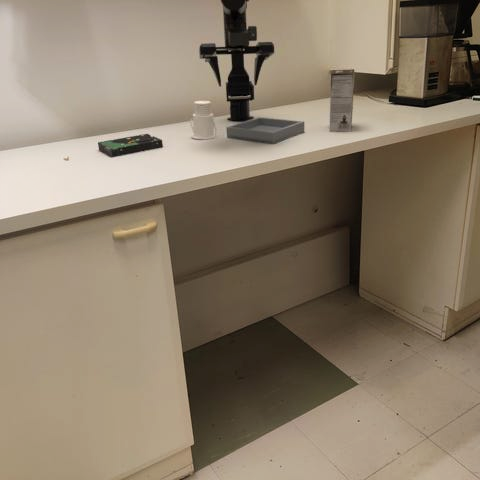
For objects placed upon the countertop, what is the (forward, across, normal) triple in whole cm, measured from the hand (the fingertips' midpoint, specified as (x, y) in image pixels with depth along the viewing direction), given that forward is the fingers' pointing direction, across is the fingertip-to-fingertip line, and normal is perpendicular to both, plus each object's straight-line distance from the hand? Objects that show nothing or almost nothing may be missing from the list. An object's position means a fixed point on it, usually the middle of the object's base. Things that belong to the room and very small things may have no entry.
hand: (237, 85), depth 124 cm
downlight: (+13, -9, +15) cm, 21 cm away
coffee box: (+12, +32, +12) cm, 36 cm away
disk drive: (+15, -29, +8) cm, 34 cm away
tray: (+13, +9, +11) cm, 19 cm away
